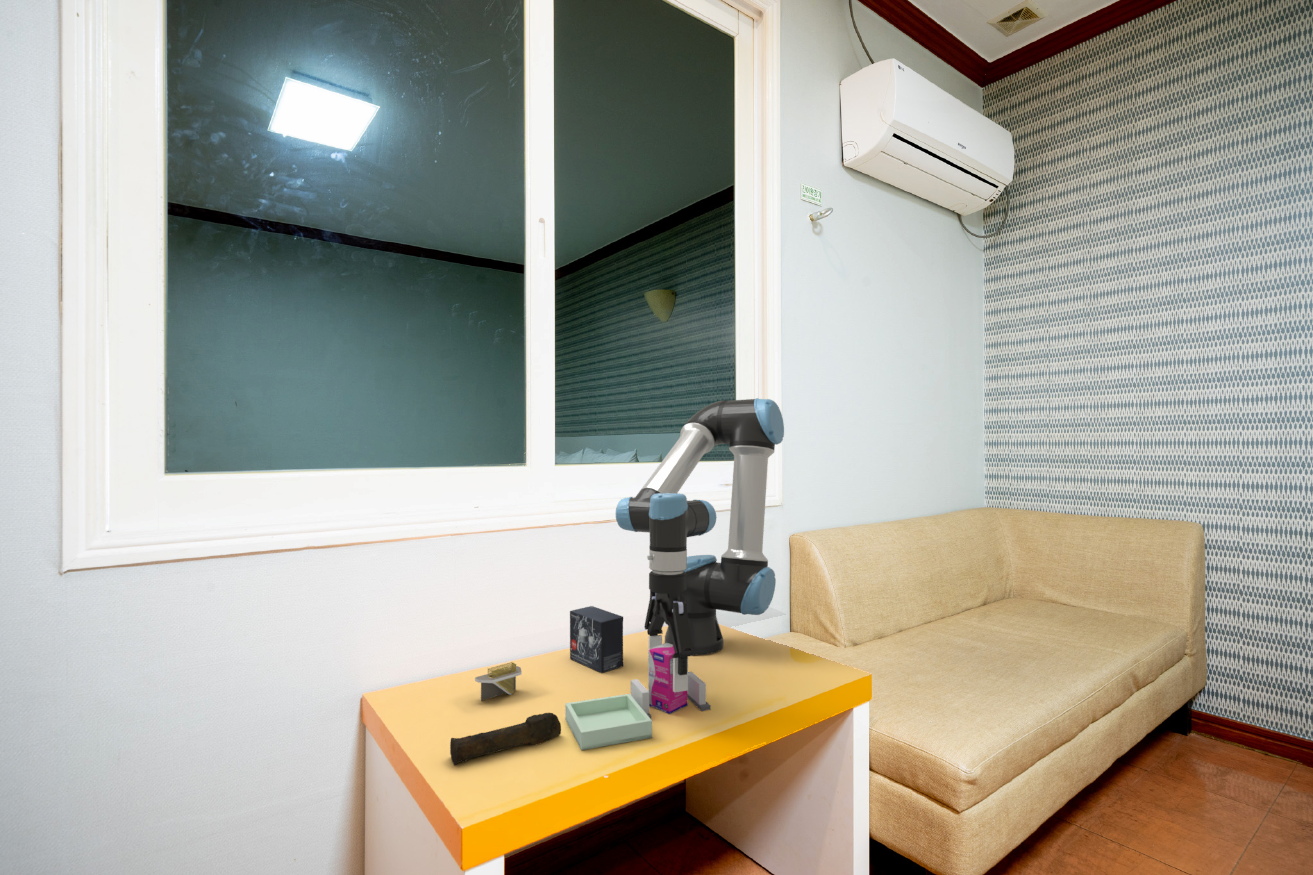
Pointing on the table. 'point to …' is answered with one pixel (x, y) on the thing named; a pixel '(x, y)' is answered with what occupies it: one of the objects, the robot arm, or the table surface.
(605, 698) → the parts tray
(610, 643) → the small box
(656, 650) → the supplement box
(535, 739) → the hand tool
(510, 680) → the platform
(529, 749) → the table surface
